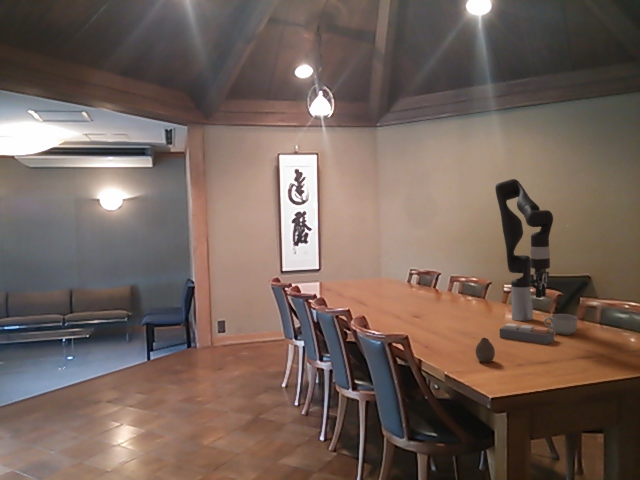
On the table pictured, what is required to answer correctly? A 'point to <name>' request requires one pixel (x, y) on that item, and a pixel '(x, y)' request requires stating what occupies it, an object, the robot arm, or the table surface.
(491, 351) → the vase
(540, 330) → the key terracotta
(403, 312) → the table surface
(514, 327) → the key ivory
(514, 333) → the keypad
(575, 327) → the teacup
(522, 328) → the key grey
